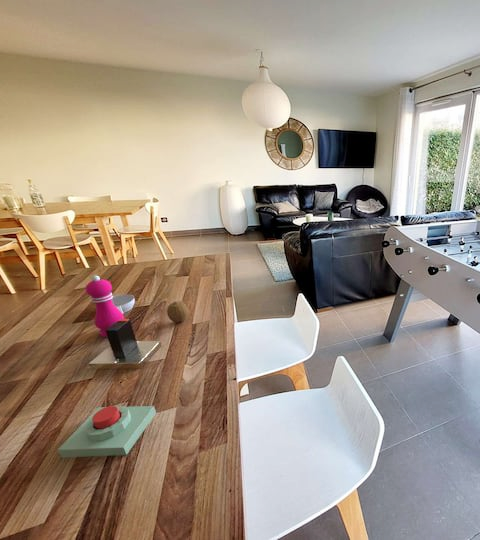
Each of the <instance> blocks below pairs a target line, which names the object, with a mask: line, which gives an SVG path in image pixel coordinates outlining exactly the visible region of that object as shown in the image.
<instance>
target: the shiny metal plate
mask: <svg viewBox="0 0 480 540" xmlns="http://www.w3.org/2000/svg"><path fill="white" fill-rule="evenodd" d="M136 341H137V344H138V346H137V347H136V348H135V349H133V350H132V351H131V352H130V353H129V354H128V355H127V356H126V357H122V358H115V357H114V354H113V352H112V349H111V346H110V345H109V346H107V348H105V349H104V350H103V351H102V352H101V353H99V354H98V355H97V356H96V357H94V358H93V359H92V360H91V361H89V363H88V366H89V368H90V370H127V369H128V370H135V369H136V370H138V369H139V370H140V369H142V368H143V367H144V366H146V364H147V363H148V362H149V361H150V360H151V358H153V356H154V355H155V354H156V353H157V352H158V351H159V349H161V348H162V342H161V340H136Z"/></svg>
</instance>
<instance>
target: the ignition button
mask: <svg viewBox="0 0 480 540" xmlns="http://www.w3.org/2000/svg"><path fill="white" fill-rule="evenodd" d="M104 407H105V408H103V409H101V410H99V411H98V412H97V413H96V414H95V415H94V416H93V418H92V421H93V423H94V425H95V428H96V429H105V428H108V427H110V426H112V425H113V424H115V423H116V422H117V421H118V420H119V419H120V414H119V411H118V408H117V407H115V405H110V406H104Z"/></svg>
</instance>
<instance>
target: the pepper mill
mask: <svg viewBox="0 0 480 540" xmlns="http://www.w3.org/2000/svg"><path fill="white" fill-rule="evenodd" d="M112 290H113V286H112V284H111V282H110V281H108V280H106V279H103V278H102V279H101V278H100V276H98V275H93V276H92V277H91V281H90V282H88V283H87V284H86V286H85V293H86V295H88V296H90V299H91V302H92V303H94V305H95V309H96V310H95V315H94V325H95V327H96V328H97V329H99V333H100V336H101V337H102V338H108V337H107V334H106V331H105V330H106V329H108V328H109V327H110V326H112V325H113V324H114V323H116V322H117V321H118V320H119V319H125V316H124V313H123V314H122V312H121V311H120V310H119V309H117V308H116V307H115V305H114V304H113V302H112V297H113V296H114V295H113V293H112Z"/></svg>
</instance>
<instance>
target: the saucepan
mask: <svg viewBox="0 0 480 540" xmlns="http://www.w3.org/2000/svg"><path fill="white" fill-rule="evenodd" d="M112 296H113V297H112V302H113V304H114V305H115V307H116V308H117V309H119V310H120V311H121V312H122V314H123V315H124V313H127V312H129V311H131V310H132V309H133V307H134V306H135V302H136V300H135V296H134V295H132V294H117V295H112Z"/></svg>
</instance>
